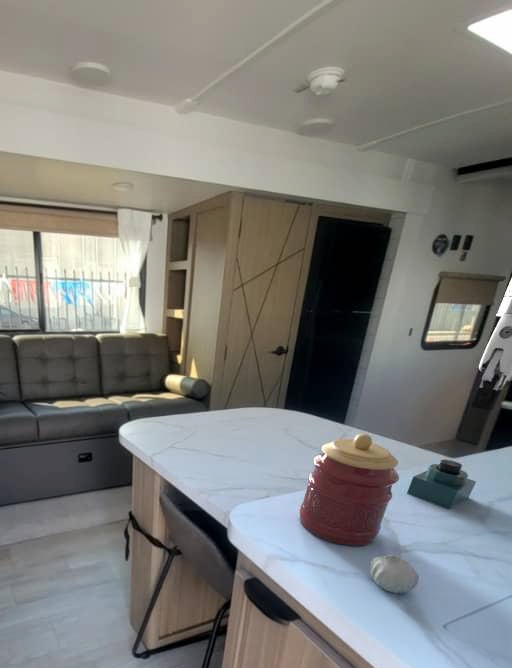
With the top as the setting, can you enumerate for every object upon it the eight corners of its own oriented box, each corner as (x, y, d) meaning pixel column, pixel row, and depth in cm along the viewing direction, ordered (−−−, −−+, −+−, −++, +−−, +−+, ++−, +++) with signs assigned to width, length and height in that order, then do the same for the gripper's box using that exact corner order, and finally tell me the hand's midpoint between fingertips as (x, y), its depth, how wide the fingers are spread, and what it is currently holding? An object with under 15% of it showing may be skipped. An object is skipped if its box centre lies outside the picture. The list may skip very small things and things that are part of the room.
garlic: (360, 585, 59) (371, 556, 56) (369, 568, 62) (380, 540, 60) (407, 606, 55) (421, 576, 53) (415, 587, 59) (428, 558, 56)
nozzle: (441, 467, 86) (445, 458, 86) (461, 473, 84) (465, 464, 83) (434, 470, 85) (437, 461, 84) (454, 477, 82) (458, 467, 81)
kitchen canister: (393, 540, 70) (432, 445, 62) (335, 553, 65) (369, 452, 58) (335, 505, 81) (361, 419, 73) (282, 514, 76) (304, 424, 69)
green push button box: (427, 483, 92) (437, 459, 90) (468, 498, 86) (480, 472, 84) (406, 493, 87) (416, 467, 84) (449, 509, 81) (461, 482, 78)
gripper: (540, 310, 66) (490, 418, 74) (565, 311, 74) (517, 409, 82) (485, 306, 72) (444, 407, 80) (513, 308, 80) (473, 400, 88)
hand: (481, 408), depth 81 cm, fingers closed
